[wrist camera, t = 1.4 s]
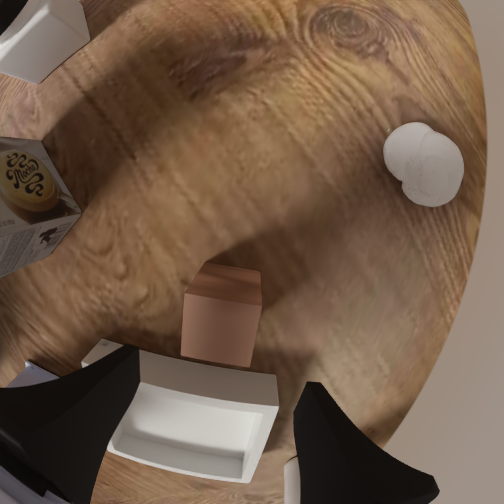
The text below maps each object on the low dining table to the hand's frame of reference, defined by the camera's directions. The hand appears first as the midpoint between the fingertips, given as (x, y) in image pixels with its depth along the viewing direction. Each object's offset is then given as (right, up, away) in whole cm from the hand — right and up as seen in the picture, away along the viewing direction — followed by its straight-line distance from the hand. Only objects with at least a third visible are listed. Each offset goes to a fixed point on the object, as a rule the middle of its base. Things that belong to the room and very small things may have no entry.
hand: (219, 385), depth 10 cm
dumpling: (+13, +12, +7) cm, 20 cm away
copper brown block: (0, +3, +10) cm, 10 cm away
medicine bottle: (-18, +26, +4) cm, 32 cm away
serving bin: (-6, -10, +13) cm, 17 cm away
